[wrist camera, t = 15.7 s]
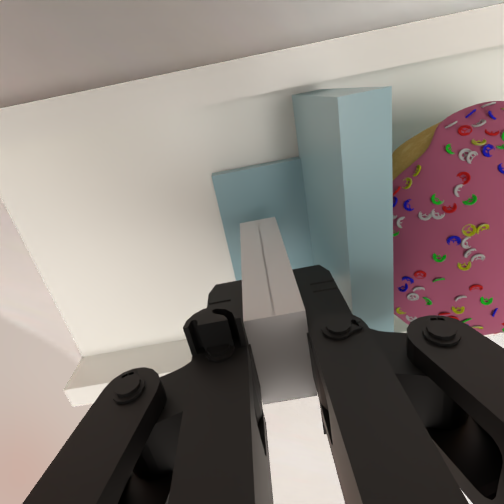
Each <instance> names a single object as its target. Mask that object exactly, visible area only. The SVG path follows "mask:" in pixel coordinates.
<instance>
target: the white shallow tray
mask: <svg viewBox="0 0 504 504" xmlns="http://www.w3.org/2000/svg"><path fill="white" fill-rule="evenodd" d="M383 86H392V153H393V152H394V151H395V150H396V149H397V148H398V147H399V146H400V145H402V144H403V143H404V142H406V141H407V140H409V139H411V138H412V137H414V136H416V135H417V134H419V133H420V132H422V131H424V130H426V129H427V128H429V127H431V126H433V125H435V124H437V123H439V122H441V121H443V120H444V119H446V118H447V117H448V116H450V115H452V114H454V113H456V112H458V111H460V110H462V109H464V108H467V107H470V106H473V105H476V104H479V103H484V102H490V101H504V3H501V4H496V5H492V6H487V7H482V8H477V9H472V10H468V11H463V12H458V13H453V14H448V15H444V16H439V17H434V18H429V19H425V20H420V21H415V22H410V23H405V24H401V25H396V26H391V27H386V28H382V29H377V30H372V31H367V32H362V33H358V34H353V35H348V36H343V37H339V38H334V39H329V40H324V41H319V42H315V43H310V44H305V45H300V46H296V47H291V48H286V49H281V50H276V51H272V52H267V53H262V54H257V55H253V56H248V57H243V58H238V59H233V60H229V61H224V62H219V63H214V64H210V65H205V66H200V67H195V68H190V69H186V70H181V71H176V72H171V73H166V74H162V75H157V76H152V77H147V78H143V79H138V80H133V81H128V82H123V83H119V84H114V85H109V86H104V87H100V88H95V89H90V90H85V91H80V92H76V93H71V94H66V95H61V96H57V97H52V98H47V99H42V100H37V101H33V102H28V103H23V104H18V105H14V106H9V107H4V108H0V198H1V200H2V202H3V204H4V206H5V208H6V210H7V211H8V213H9V215H10V217H11V219H12V221H13V223H14V225H15V227H16V229H17V231H18V233H19V235H20V237H21V239H22V241H23V243H24V244H25V246H26V248H27V250H28V252H29V254H30V256H31V258H32V260H33V262H34V264H35V266H36V268H37V270H38V272H39V274H40V276H41V278H42V279H43V281H44V283H45V285H46V287H47V289H48V291H49V293H50V295H51V297H52V299H53V301H54V303H55V305H56V307H57V309H58V311H59V312H60V314H61V316H62V318H63V320H64V322H65V324H66V326H67V328H68V330H69V332H70V334H71V336H72V338H73V340H74V342H75V344H76V345H77V347H78V349H79V351H80V353H81V355H82V359H81V361H80V363H79V364H78V366H77V368H76V370H75V371H74V373H73V375H72V376H71V378H70V380H69V381H68V383H67V385H66V387H65V388H64V390H63V391H64V393H65V394H66V396H67V398H68V400H69V401H70V403H71V405H72V407H76V406H81V405H87V404H93V403H94V402H95V401H96V399H97V398H98V396H99V395H100V394H101V392H102V391H103V389H104V388H105V387H106V386H107V385H108V384H109V383H110V382H111V381H112V380H113V379H114V378H116V377H117V376H119V375H120V374H122V373H124V372H126V371H129V370H131V369H135V368H141V367H146V368H151V369H153V370H154V371H156V372H157V373H158V375H159V377H161V376H164V375H166V374H169V373H171V372H173V371H176V370H178V369H180V368H182V367H183V366H185V365H186V364H188V363H189V362H191V359H192V354H191V351H190V348H189V345H188V342H187V339H186V336H185V333H184V330H183V326H184V324H185V322H186V321H187V320H188V319H189V318H190V317H191V316H192V315H193V314H195V313H197V312H199V311H200V310H202V309H205V308H207V305H208V304H207V302H208V295H209V293H210V291H211V290H212V289H213V288H214V286H215V285H216V284H221V283H227V282H232V281H236V278H235V274H234V270H233V266H232V261H231V257H230V253H229V249H228V245H227V240H226V236H225V232H224V228H223V223H222V219H221V215H220V211H219V207H218V202H217V198H216V194H215V190H214V185H213V181H212V177H211V176H212V173H216V172H221V171H226V170H231V169H237V168H242V167H247V166H252V165H257V164H262V163H267V162H272V161H277V160H283V159H288V158H293V157H298V156H299V151H298V143H297V135H296V127H295V118H294V110H293V102H292V95H294V94H299V93H304V92H309V91H314V90H319V89H336V88H359V87H383ZM408 326H409V325H408V324H406V323H405V322H403V321H402V320H401V319H400V318H398V317H397V316H396V315H395V314H394V332H400V333H407V327H408ZM500 334H504V333H497V334H489V335H484V336H485V337H488V336H494V335H500Z"/></svg>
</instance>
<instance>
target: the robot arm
mask: <svg viewBox="0 0 504 504" xmlns="http://www.w3.org/2000/svg"><path fill="white" fill-rule="evenodd" d="M240 244H241V272H242V280H238V281H232V282H227V283H221V284H216V285H215V286H214V288H213V289H212V290H211V291H210V293H209V295H208V302H207V304H208V305H207V308H205V309H202V310H200V311H199V312H197V313H195V314H193V315H192V316H191V317H190V318H189V319H188V320H187V321H186V322H185V324H184V326H183V330H184V333H185V336H186V339H187V342H188V345H189V348H190V351H191V354H192V359H191V362H189V363H188V364H186V365H185V366H183V367H182V368H180V369H178V370H176V371H173V372H171V373H169V374H166V375H164V376H161V377H159V375H158V373H157V372H156V371H154V370H153V369H151V368H146V367H141V368H135V369H131V370H129V371H126V372H124V373H122V374H120V375H119V376H117V377H116V378H114V379H113V380H112V381H111V382H110V383H109V384H108V385H107V386H106V387H105V388H104V389H103V391H102V392H101V394H100V395H99V396H98V398H97V399H96V401H95V402H94V403H93V405H92V406H91V408H90V409H89V410H88V412H87V413H86V415H85V416H84V418H83V419H82V420H81V422H80V423H79V425H78V426H77V427H76V429H75V430H74V432H73V433H72V434H71V436H70V437H69V439H68V440H67V441H66V443H65V445H64V446H63V447H62V449H61V450H60V451H59V453H58V454H57V456H56V457H55V459H54V460H53V461H52V463H51V464H50V466H49V467H48V468H47V470H46V471H45V473H44V474H43V475H42V477H41V478H40V480H39V481H38V482H37V484H36V485H35V487H34V488H33V489H32V491H31V492H30V494H29V495H28V497H27V498H26V499H25V501H24V502H23V504H273V494H272V484H271V473H270V462H269V452H268V441H267V430H266V422H265V418H264V413H263V409H262V402H263V404H269V403H275V402H281V401H287V400H293V399H299V398H305V397H311V396H317V393H318V397H319V401H320V408H321V415H322V422H323V430H324V434H327V437H328V440H329V444H330V448H331V452H332V455H333V459H334V463H335V467H336V470H337V474H338V478H339V482H340V485H341V489H342V493H343V496H344V500H345V504H469V503H468V501H467V500H466V498H465V496H464V494H463V493H462V491H463V492H464V493H465V495H466V496H467V497H468V498H469V499H470V501H471V502H472V503H473V504H504V348H502V347H501V346H499V345H498V344H496V343H495V342H493V341H491V340H490V339H488V338H487V337H485V336H484V335H482V334H481V333H479V332H478V331H476V330H475V329H473V328H472V327H470V326H469V325H467V324H465V323H463V322H461V321H459V320H457V319H455V318H451V317H446V316H441V315H428V316H423V317H419V318H417V319H415V320H413V321H412V322H410V324H409V326H408V327H407V333H400V332H384V331H378V330H374V329H370V328H369V327H368V325H367V324H366V323H365V322H364V321H363V320H362V319H361V318H359V317H357V316H355V315H353V314H352V312H351V310H350V309H349V307H348V305H347V303H346V301H345V299H344V297H343V295H342V293H341V292H340V290H339V289H338V286H337V284H336V282H335V281H334V278H333V277H332V275H331V273H330V271H329V270H327V269H326V268H324V267H322V266H321V265H314V266H308V267H303V268H297V269H292V267H291V264H290V261H289V258H288V255H287V252H286V249H285V246H284V243H283V240H282V237H281V234H280V230H279V227H278V224H277V221H276V218H275V217H270V218H265V219H260V220H255V221H249V222H244V223H240ZM461 490H462V491H461Z"/></svg>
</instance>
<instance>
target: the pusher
mask: <svg viewBox="0 0 504 504" xmlns="http://www.w3.org/2000/svg"><path fill="white" fill-rule="evenodd" d="M292 102H293V110H294V118H295V127H296V135H297V143H298V151H299V156H298V157H293V158H288V159H283V160H277V161H272V162H267V163H262V164H257V165H252V166H247V167H242V168H237V169H231V170H226V171H221V172H216V173H212V176H211V177H212V181H213V185H214V190H215V194H216V198H217V202H218V207H219V211H220V215H221V219H222V223H223V228H224V232H225V236H226V240H227V245H228V249H229V253H230V257H231V261H232V266H233V270H234V274H235V278H236V281H238V280H242V272H241V244H240V223H244V222H249V221H255V220H260V219H265V218H270V217H275V218H276V221H277V224H278V227H279V230H280V234H281V237H282V240H283V243H284V246H285V249H286V252H287V255H288V258H289V261H290V264H291V267H292V269H297V268H303V267H308V266H314V265H321V266H322V267H324V268H326V269H327V270H329V271H330V273H331V275H332V277H333V278H334V281H335V282H336V284H337V286H338V289H339V290H340V292H341V293H342V295H343V297H344V299H345V301H346V303H347V305H348V307H349V309H350V310H351V312H352V314H353V315H355V316H357V317H359V318H361V319H362V320H363V321H364V322H365V323H366V324H367V325H368V327H369V328H370V329H374V330H378V331H384V332H394V285H393V179H392V86H383V87H359V88H336V89H319V90H314V91H309V92H304V93H299V94H294V95H292Z"/></svg>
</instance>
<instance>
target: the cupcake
mask: <svg viewBox="0 0 504 504" xmlns="http://www.w3.org/2000/svg"><path fill="white" fill-rule="evenodd" d="M392 179H393V285H394V314H395V315H396V316H397V317H398V318H400V319H401V320H402V321H403V322H405V323H406V324H408V325H409V324H410V322H412V321H413V320H415V319H417V318H419V317H423V316H428V315H441V316H446V317H451V318H455V319H457V320H459V321H461V322H463V323H465V324H467V325H469V326H470V327H472V328H473V329H475V330H476V331H478V332H479V333H481V334H482V335H489V334H497V333H504V101H490V102H484V103H479V104H476V105H473V106H470V107H467V108H464V109H462V110H460V111H458V112H456V113H454V114H452V115H450V116H448V117H447V118H446V119H444V120H443V121H441V122H439V123H437V124H435V125H433V126H431V127H429V128H427V129H426V130H424V131H422V132H420V133H419V134H417V135H416V136H414V137H412V138H411V139H409V140H407V141H406V142H404V143H403V144H402V145H400V146H399V147H398V148H397V149H396V150H395V151H394V152H393V153H392Z"/></svg>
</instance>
